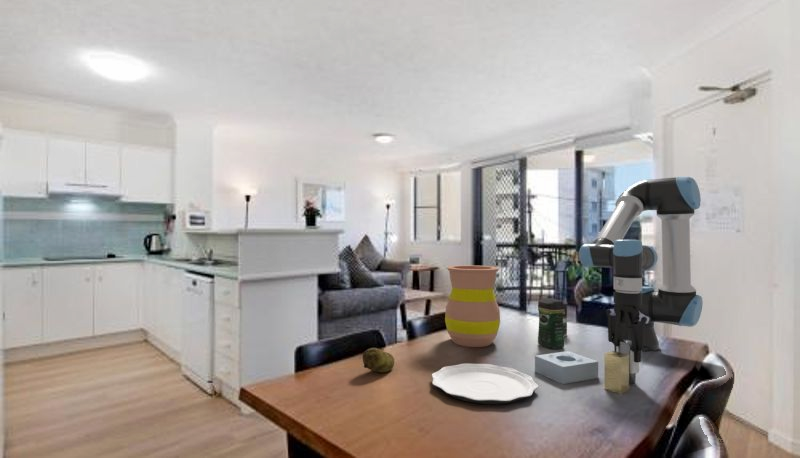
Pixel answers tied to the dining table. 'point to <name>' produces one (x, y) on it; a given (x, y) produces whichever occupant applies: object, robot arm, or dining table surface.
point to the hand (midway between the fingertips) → (627, 369)
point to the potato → (378, 360)
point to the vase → (472, 306)
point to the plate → (484, 383)
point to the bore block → (566, 367)
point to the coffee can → (565, 318)
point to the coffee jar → (551, 323)
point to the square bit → (617, 372)
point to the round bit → (625, 349)
